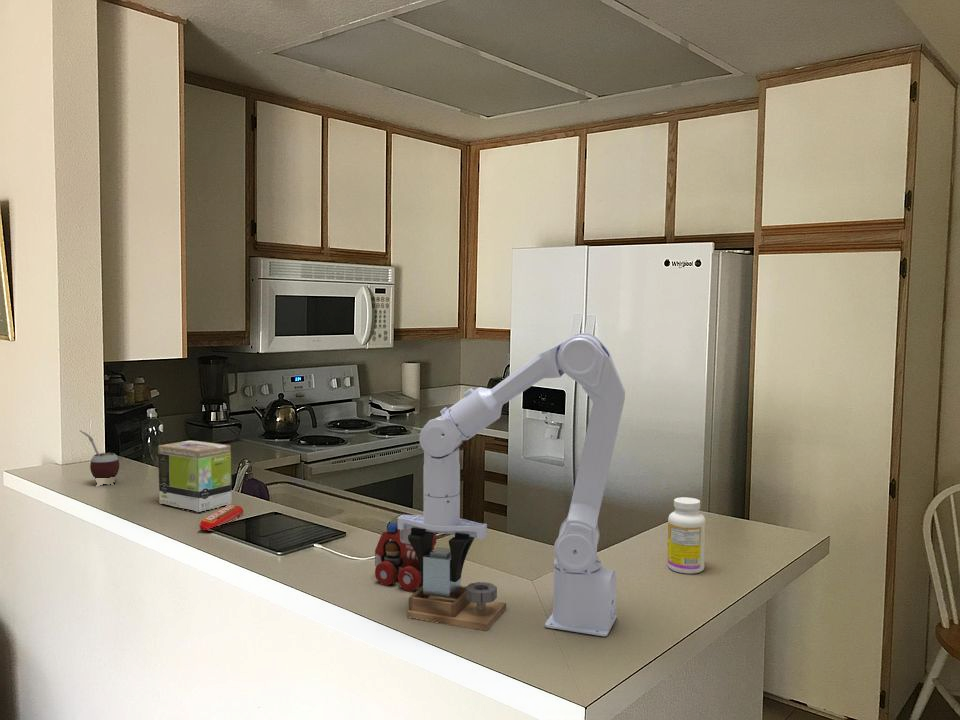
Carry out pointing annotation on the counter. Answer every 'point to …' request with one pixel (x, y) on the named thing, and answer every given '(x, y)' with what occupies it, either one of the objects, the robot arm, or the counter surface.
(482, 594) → the wheel
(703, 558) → the supplement bottle
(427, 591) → the grey block
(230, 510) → the candy bar
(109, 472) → the mate gourd
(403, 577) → the toy fire truck
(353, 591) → the counter surface
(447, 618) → the board
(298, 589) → the counter surface
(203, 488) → the tea box
